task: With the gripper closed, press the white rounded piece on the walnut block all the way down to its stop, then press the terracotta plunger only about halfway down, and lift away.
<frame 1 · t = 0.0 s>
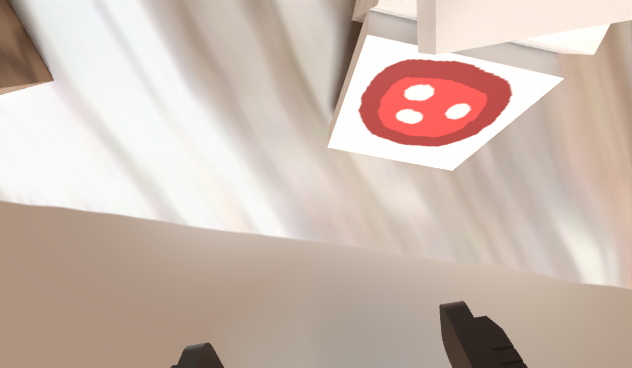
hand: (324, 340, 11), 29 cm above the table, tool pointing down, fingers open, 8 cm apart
pizza boxes: (426, 15, 32), on the table
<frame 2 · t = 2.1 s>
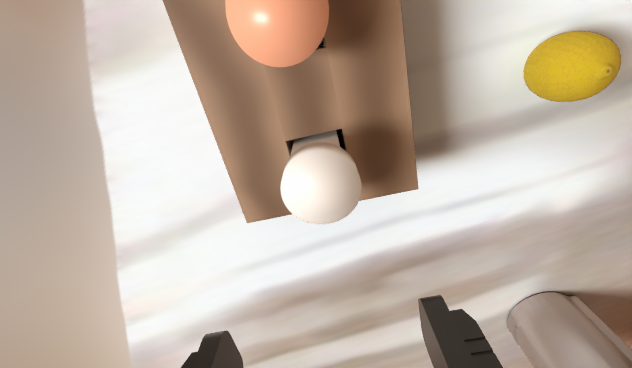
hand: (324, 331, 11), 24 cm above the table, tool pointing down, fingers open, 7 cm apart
lemon: (534, 64, 30), on the table
white rounded piece: (320, 167, 25), point 8 cm above the table, slide at 0.0 cm
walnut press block: (306, 85, 30), on the table
terracotta plunger: (284, 17, 20), point 8 cm above the table, slide at 0.0 cm
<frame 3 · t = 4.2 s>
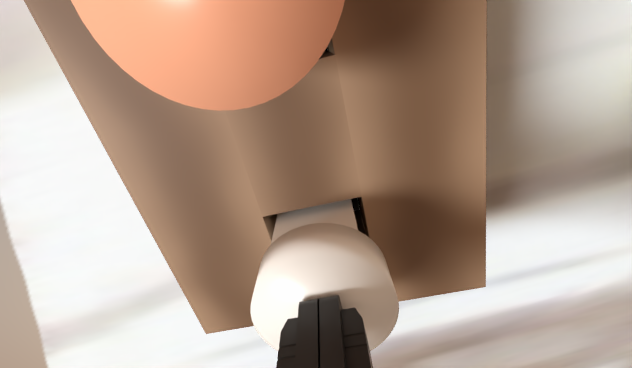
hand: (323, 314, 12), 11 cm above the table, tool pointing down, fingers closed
white rounded piece: (322, 246, 15), point 7 cm above the table, slide at 1.4 cm, touching gripper
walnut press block: (301, 111, 19), on the table
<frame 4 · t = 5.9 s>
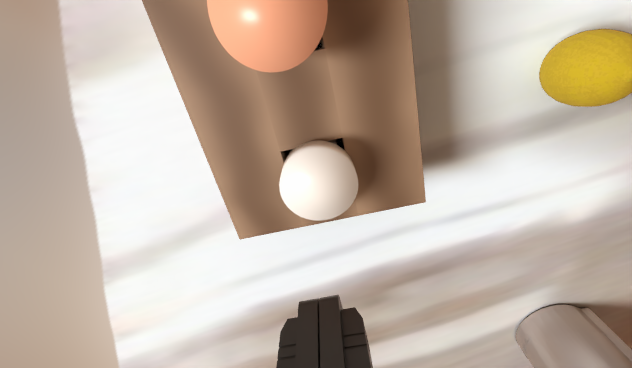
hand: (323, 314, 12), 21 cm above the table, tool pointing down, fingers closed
lemon: (549, 65, 27), on the table
white rounded piece: (317, 164, 25), point 5 cm above the table, slide at 3.1 cm
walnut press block: (303, 89, 28), on the table
terracotta plunger: (277, 15, 18), point 8 cm above the table, slide at 0.0 cm
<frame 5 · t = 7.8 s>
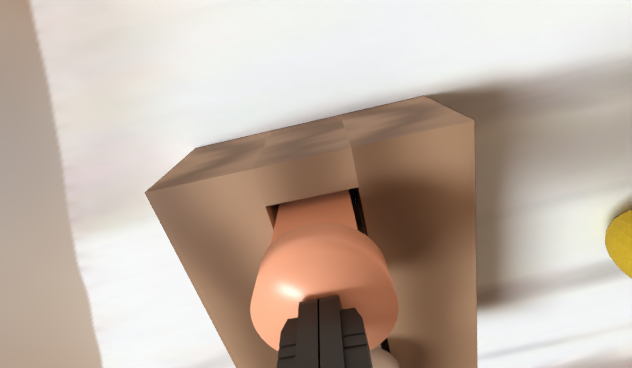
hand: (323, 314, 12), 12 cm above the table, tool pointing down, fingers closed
lemon: (613, 218, 24), on the table
white rounded piece: (353, 343, 22), point 5 cm above the table, slide at 3.1 cm
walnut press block: (334, 241, 25), on the table
terracotta plunger: (322, 246, 15), point 8 cm above the table, slide at 0.4 cm, touching gripper
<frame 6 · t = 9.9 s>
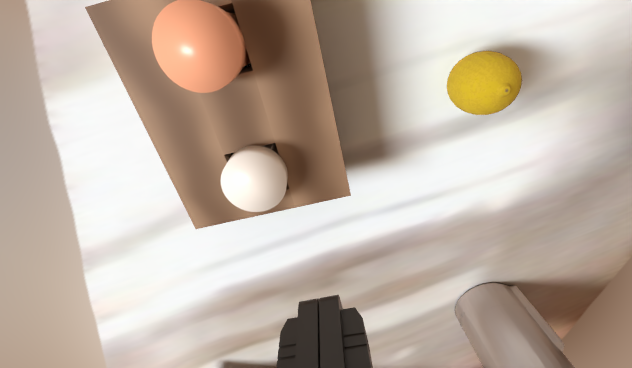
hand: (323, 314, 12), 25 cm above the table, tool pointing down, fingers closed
lemon: (460, 77, 32), on the table
white rounded piece: (260, 164, 30), point 5 cm above the table, slide at 3.1 cm
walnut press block: (250, 99, 32), on the table
terracotta plunger: (214, 46, 24), point 7 cm above the table, slide at 1.5 cm
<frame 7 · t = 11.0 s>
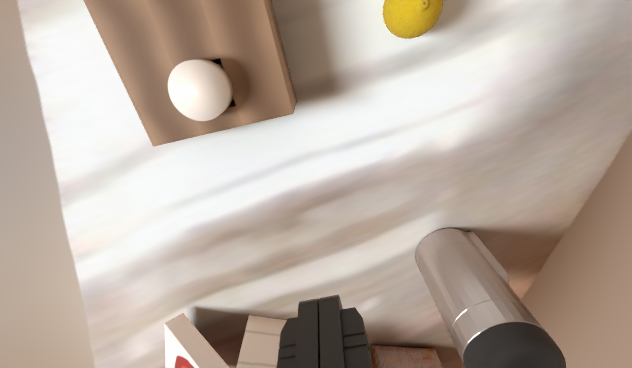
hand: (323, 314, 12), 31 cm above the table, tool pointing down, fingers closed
pizza boxes: (255, 344, 58), on the table
lemon: (400, 12, 35), on the table
white rounded piece: (211, 86, 33), point 5 cm above the table, slide at 3.1 cm
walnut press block: (207, 31, 35), on the table
food item: (401, 354, 59), on the table
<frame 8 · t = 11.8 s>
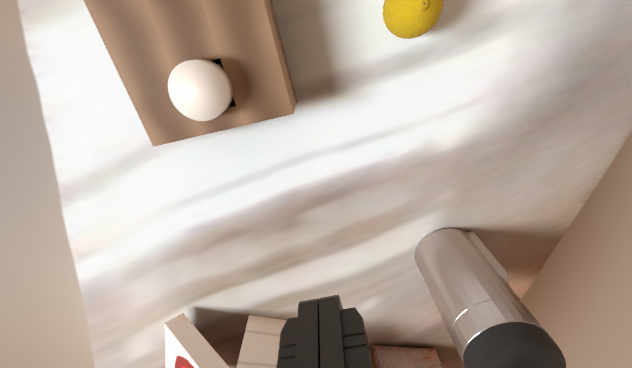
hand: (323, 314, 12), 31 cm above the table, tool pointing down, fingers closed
pizza boxes: (255, 344, 58), on the table
lemon: (400, 12, 35), on the table
white rounded piece: (211, 86, 33), point 5 cm above the table, slide at 3.1 cm
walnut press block: (207, 31, 35), on the table
food item: (401, 354, 59), on the table
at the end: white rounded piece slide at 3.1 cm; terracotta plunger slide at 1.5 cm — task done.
